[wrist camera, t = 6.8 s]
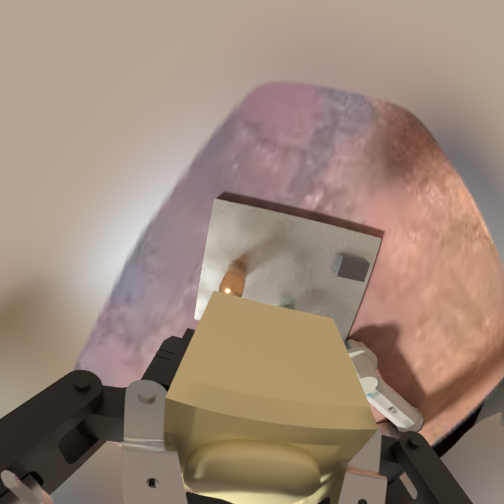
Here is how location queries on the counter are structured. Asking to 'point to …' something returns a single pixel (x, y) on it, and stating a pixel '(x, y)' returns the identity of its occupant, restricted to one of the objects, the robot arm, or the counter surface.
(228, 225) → the plate
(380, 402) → the white handheld device
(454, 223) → the counter surface
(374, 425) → the cube with dome bump
